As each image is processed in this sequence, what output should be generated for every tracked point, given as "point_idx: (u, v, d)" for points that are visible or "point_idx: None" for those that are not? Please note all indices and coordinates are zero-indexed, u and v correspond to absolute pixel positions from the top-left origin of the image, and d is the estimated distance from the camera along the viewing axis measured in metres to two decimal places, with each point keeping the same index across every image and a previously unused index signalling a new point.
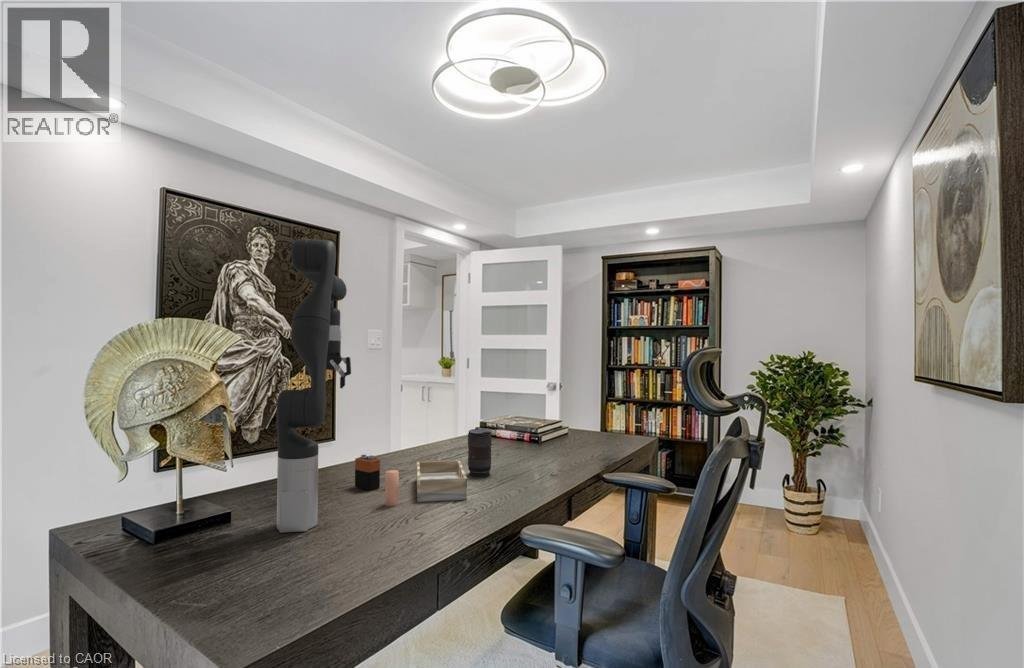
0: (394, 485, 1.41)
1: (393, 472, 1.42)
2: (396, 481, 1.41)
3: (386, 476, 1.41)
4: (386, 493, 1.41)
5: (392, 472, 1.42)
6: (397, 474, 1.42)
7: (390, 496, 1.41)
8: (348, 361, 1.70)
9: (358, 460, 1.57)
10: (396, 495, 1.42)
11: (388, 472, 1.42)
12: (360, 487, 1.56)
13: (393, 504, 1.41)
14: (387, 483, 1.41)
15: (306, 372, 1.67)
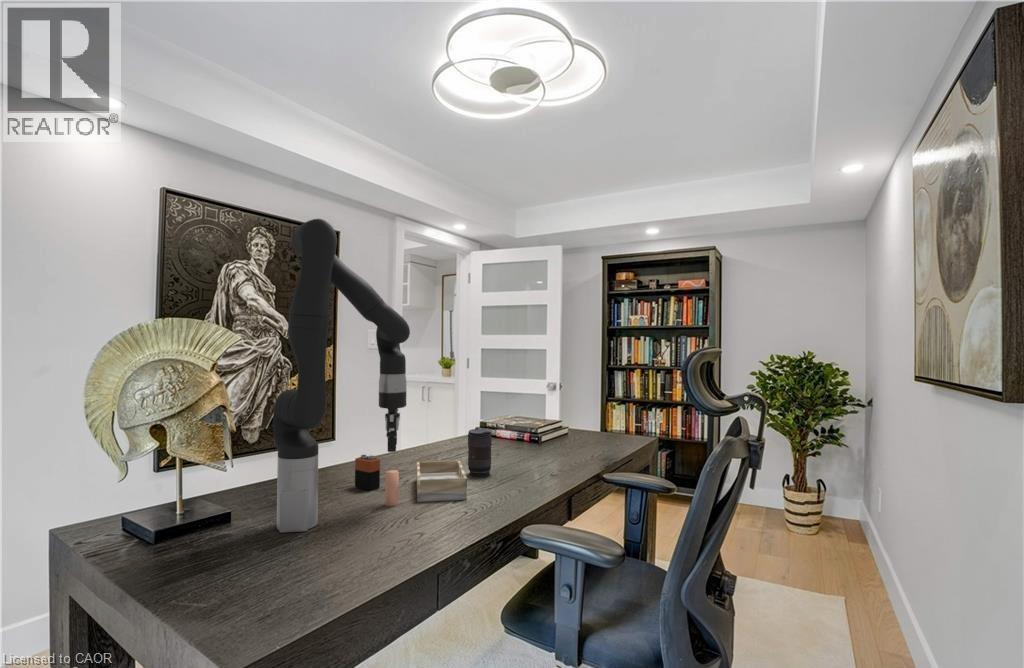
0: (394, 485, 1.41)
1: (393, 472, 1.42)
2: (396, 481, 1.41)
3: (386, 476, 1.41)
4: (386, 493, 1.41)
5: (392, 472, 1.42)
6: (397, 474, 1.42)
7: (390, 496, 1.41)
8: (397, 412, 1.49)
9: (358, 460, 1.57)
10: (396, 495, 1.42)
11: (388, 472, 1.42)
12: (360, 487, 1.56)
13: (393, 504, 1.41)
14: (387, 483, 1.41)
15: (396, 433, 1.36)
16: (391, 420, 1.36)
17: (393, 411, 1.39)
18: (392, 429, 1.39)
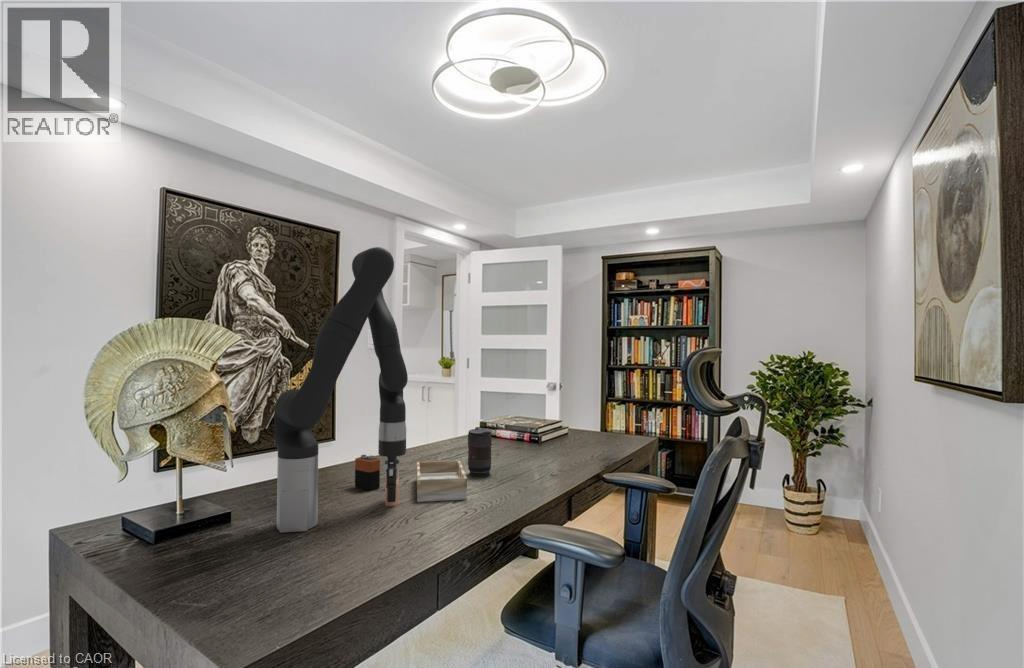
0: None
1: None
2: (396, 481, 1.41)
3: None
4: (386, 493, 1.41)
5: None
6: None
7: None
8: None
9: (358, 460, 1.57)
10: (396, 495, 1.42)
11: None
12: (360, 487, 1.56)
13: (393, 504, 1.41)
14: None
15: None
16: (391, 475, 1.36)
17: (393, 460, 1.39)
18: None
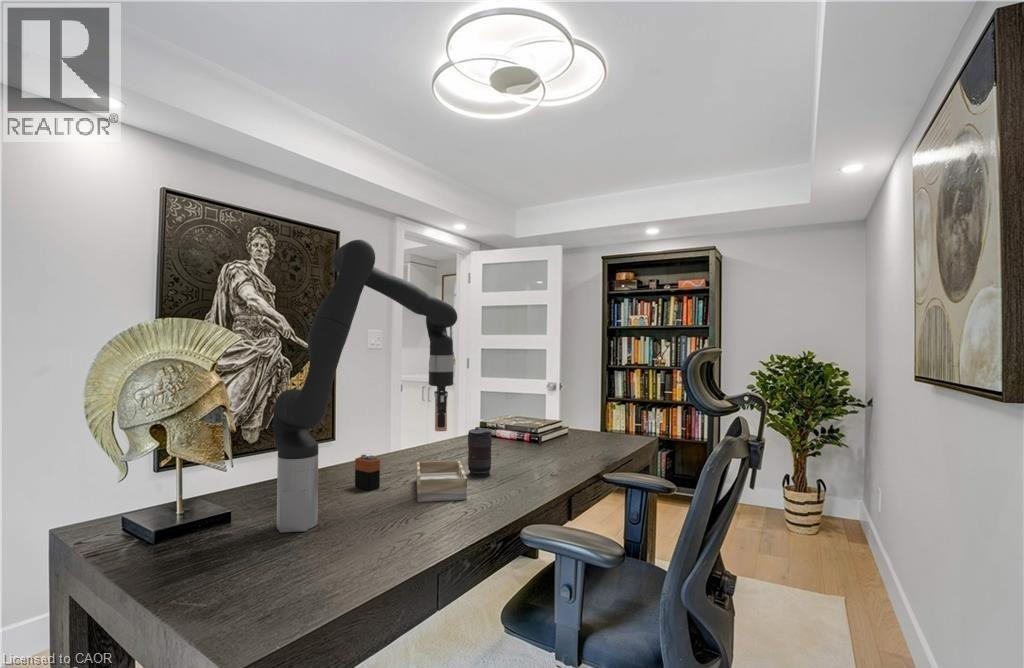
0: None
1: None
2: None
3: None
4: (436, 420, 1.56)
5: None
6: None
7: None
8: None
9: (358, 460, 1.57)
10: (445, 422, 1.56)
11: None
12: (360, 487, 1.56)
13: (443, 429, 1.56)
14: None
15: (445, 410, 1.53)
16: (442, 401, 1.51)
17: (443, 388, 1.54)
18: None
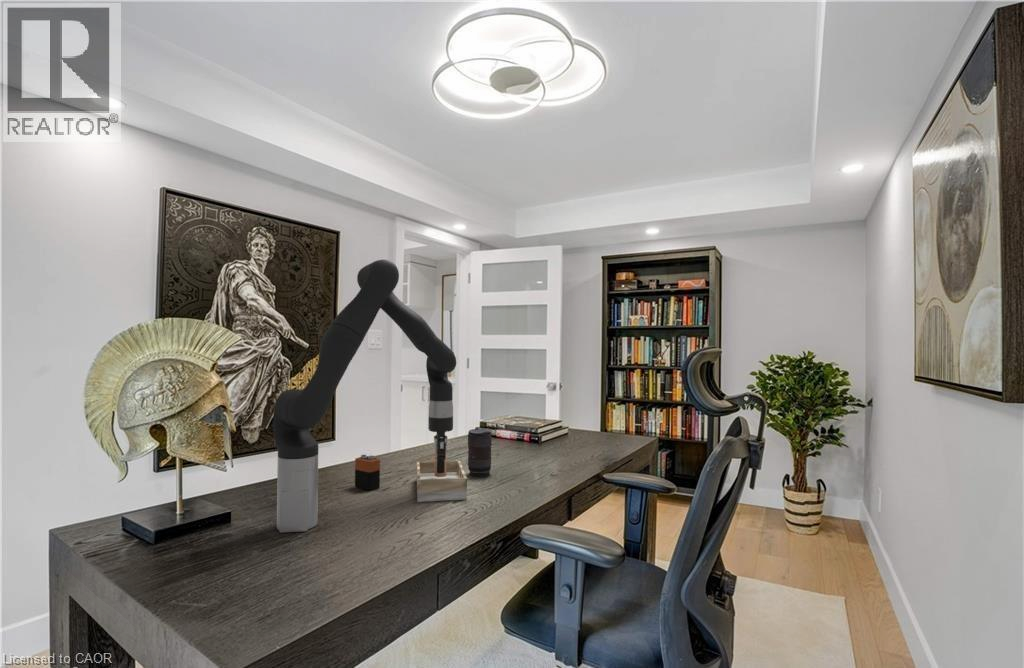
0: None
1: None
2: None
3: None
4: (436, 465, 1.56)
5: None
6: None
7: None
8: None
9: (358, 460, 1.57)
10: (445, 467, 1.56)
11: None
12: (360, 487, 1.56)
13: (442, 475, 1.55)
14: None
15: (445, 456, 1.53)
16: (441, 448, 1.51)
17: (442, 434, 1.53)
18: None
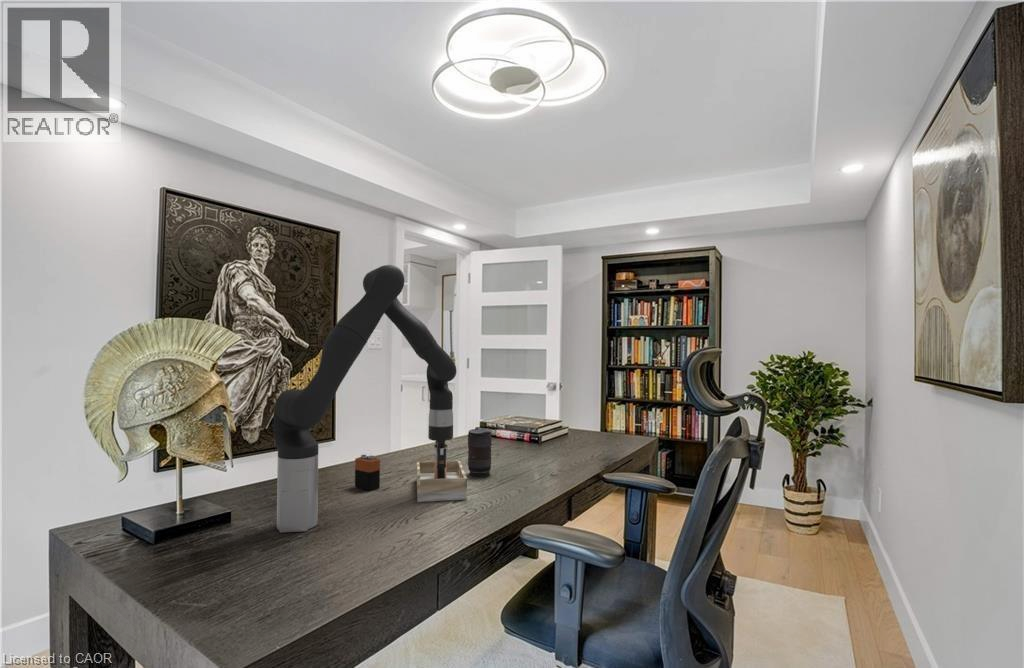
0: None
1: None
2: None
3: (435, 464, 1.56)
4: None
5: None
6: None
7: None
8: None
9: (358, 460, 1.57)
10: None
11: None
12: (360, 487, 1.56)
13: None
14: (436, 470, 1.55)
15: (445, 465, 1.51)
16: (441, 454, 1.50)
17: (442, 443, 1.53)
18: (441, 460, 1.54)
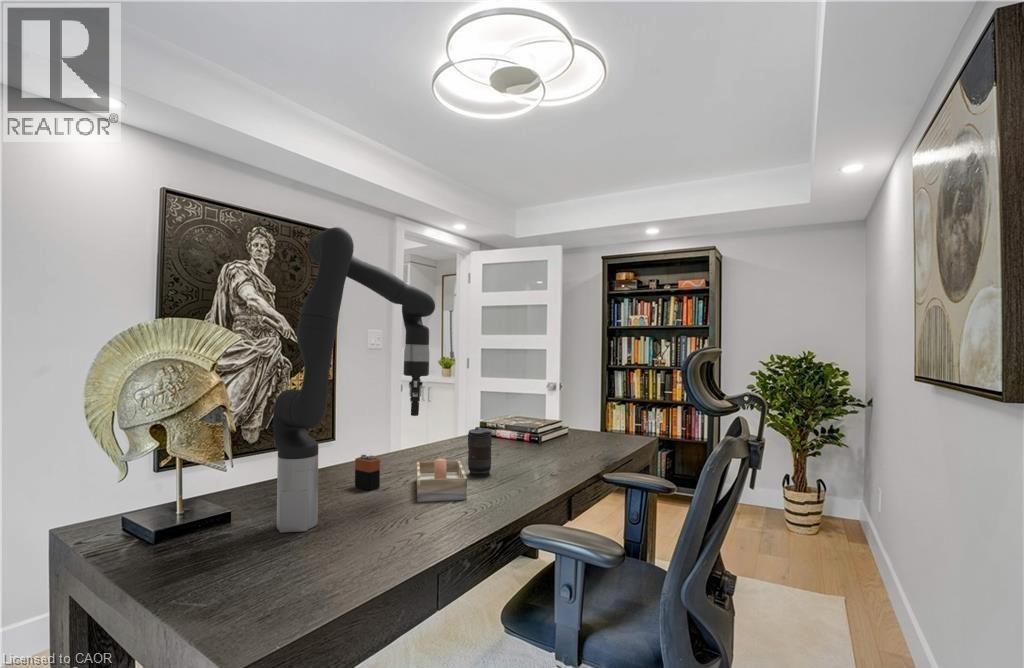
0: (443, 472, 1.55)
1: (441, 460, 1.56)
2: (444, 468, 1.56)
3: (435, 464, 1.56)
4: None
5: (441, 460, 1.56)
6: (445, 462, 1.56)
7: None
8: None
9: (358, 460, 1.57)
10: None
11: (437, 460, 1.56)
12: (360, 487, 1.56)
13: None
14: (436, 470, 1.55)
15: (419, 398, 1.47)
16: (415, 385, 1.47)
17: (417, 378, 1.50)
18: (415, 395, 1.50)
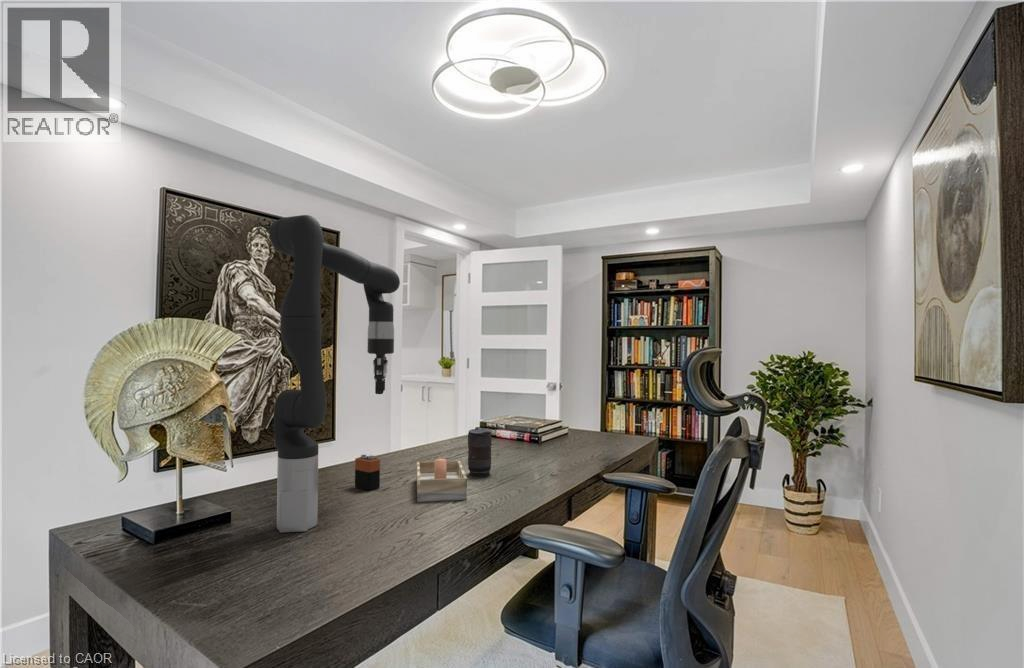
0: (443, 472, 1.55)
1: (441, 460, 1.56)
2: (444, 468, 1.56)
3: (435, 464, 1.56)
4: None
5: (441, 460, 1.56)
6: (445, 462, 1.56)
7: None
8: None
9: (358, 460, 1.57)
10: None
11: (437, 460, 1.56)
12: (360, 487, 1.56)
13: None
14: (436, 470, 1.55)
15: (383, 376, 1.45)
16: (378, 363, 1.44)
17: (381, 356, 1.47)
18: (380, 373, 1.47)
